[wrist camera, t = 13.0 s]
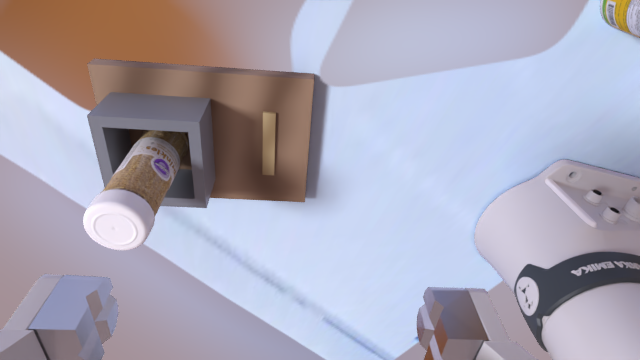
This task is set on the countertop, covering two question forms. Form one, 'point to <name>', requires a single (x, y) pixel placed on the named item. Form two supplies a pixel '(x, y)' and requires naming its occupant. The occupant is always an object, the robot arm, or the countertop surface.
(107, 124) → the grey square open box
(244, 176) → the wooden board
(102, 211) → the sprinkles bottle
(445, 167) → the countertop surface
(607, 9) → the supplement bottle
